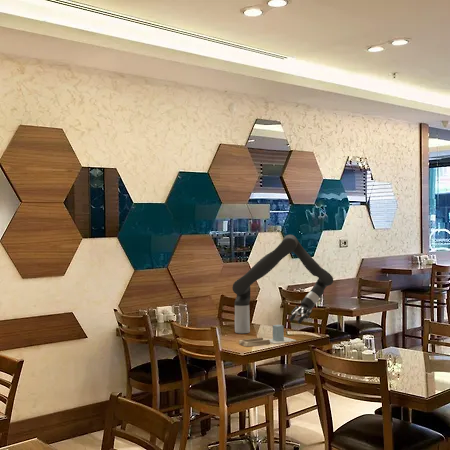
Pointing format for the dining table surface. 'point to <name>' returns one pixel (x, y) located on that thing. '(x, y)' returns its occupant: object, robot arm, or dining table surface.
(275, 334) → the slate block
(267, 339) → the mat
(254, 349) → the dining table surface
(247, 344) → the shelf lane
